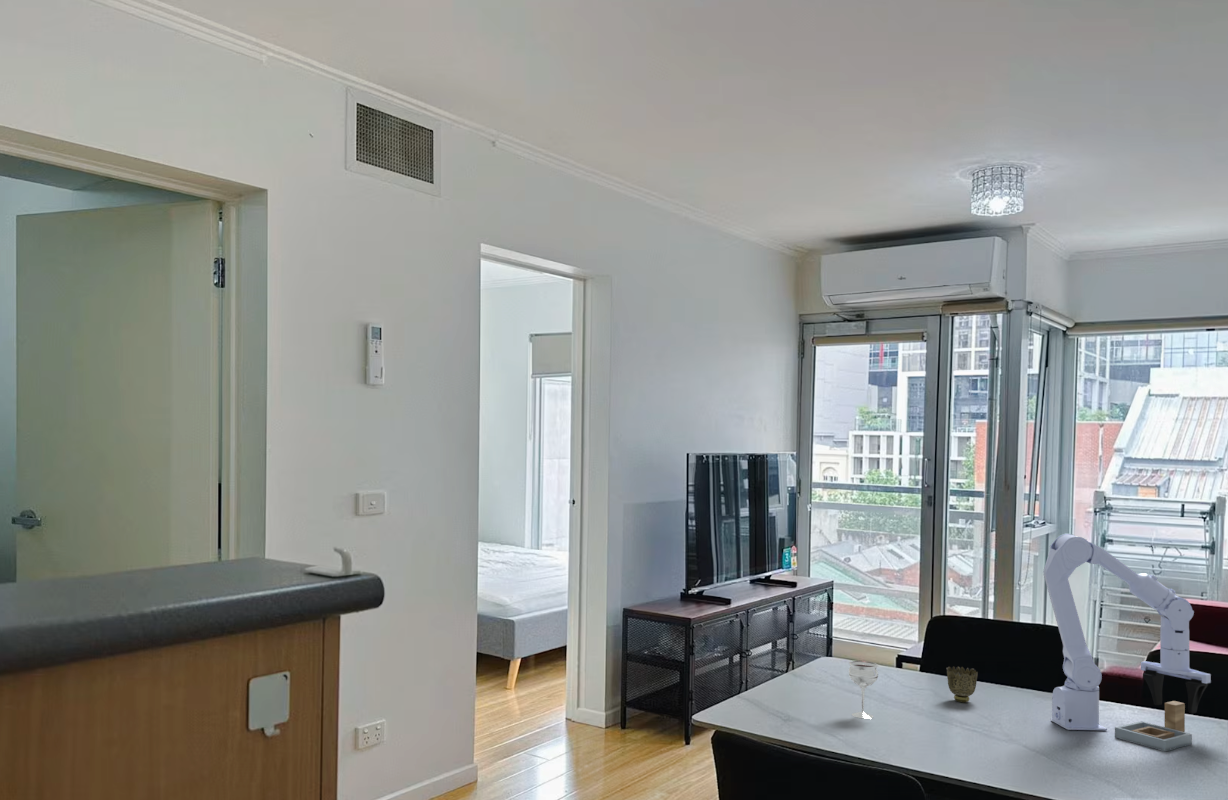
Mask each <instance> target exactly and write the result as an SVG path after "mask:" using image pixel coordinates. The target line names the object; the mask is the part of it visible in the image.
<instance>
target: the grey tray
mask: <svg viewBox="0 0 1228 800" xmlns="http://www.w3.org/2000/svg"><path fill="white" fill-rule="evenodd" d="M1114 738H1115V739H1120V740H1122V741H1123V740H1124V741H1126V742H1131V743H1134V744H1138V745H1141V746H1145V747H1149V748H1151V749H1155V750H1159V751H1163V752H1168V751H1171V750H1175V749H1179V748H1183V747H1188V746H1190V745H1192V744H1193V741H1192V740H1193V739H1192V738H1193V734H1192V733H1190V732H1186V731H1185V732H1182V731H1178V730H1174V729H1170V728H1166V727H1165V726H1163V725H1157V724H1154V723H1150V722H1146V721H1142V720H1140V721H1137V722H1132V723H1128V724H1123V725H1119V726H1115V727H1114Z"/></svg>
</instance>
